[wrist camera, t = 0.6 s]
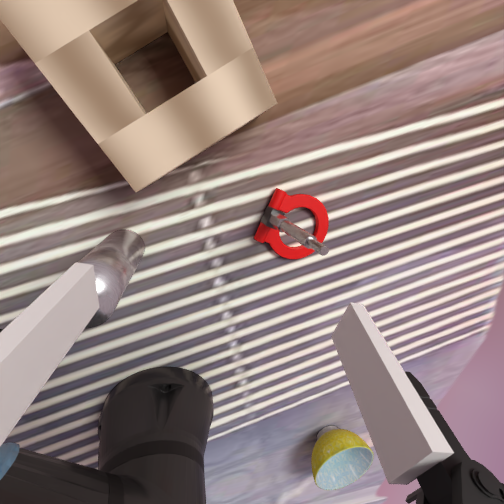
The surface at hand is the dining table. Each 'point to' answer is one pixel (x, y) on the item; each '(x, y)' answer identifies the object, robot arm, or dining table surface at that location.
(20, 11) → the hitch block
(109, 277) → the steel pin
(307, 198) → the tow hook
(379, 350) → the robot arm
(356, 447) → the bowl
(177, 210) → the dining table surface
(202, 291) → the dining table surface
